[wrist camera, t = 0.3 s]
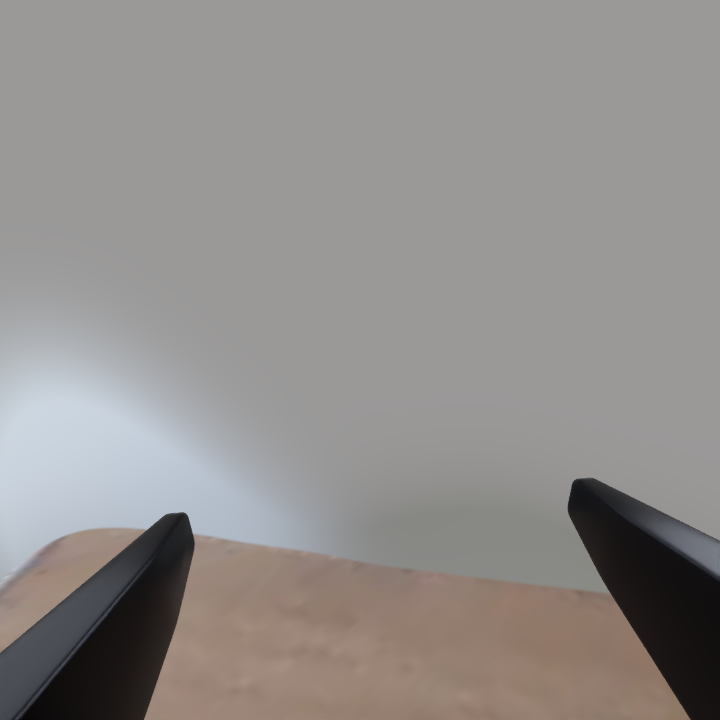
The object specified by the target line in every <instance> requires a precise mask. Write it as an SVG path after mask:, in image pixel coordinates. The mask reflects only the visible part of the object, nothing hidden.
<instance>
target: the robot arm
mask: <svg viewBox="0 0 720 720" xmlns="http://www.w3.org/2000/svg"><path fill="white" fill-rule="evenodd" d="M568 513H569V516H570V518H571V520H572V522H573V524H574V526H575V528H576V530H577V532H578V534H579V536H580V538H581V540H582V542H583V544H584V546H585V548H586V549H587V551H588V553H589V555H590V557H591V559H592V561H593V563H594V565H595V567H596V569H597V571H598V573H599V574H600V576H601V578H602V580H603V582H604V583H605V585H606V586H607V588H608V590H609V591H610V593H611V595H612V596H613V598H614V599H615V601H616V603H617V604H618V606H619V607H620V609H621V610H622V612H623V614H624V615H625V617H626V618H627V620H628V622H629V623H630V625H631V626H632V628H633V629H634V631H635V633H636V634H637V636H638V637H639V639H640V640H641V642H642V644H643V645H644V647H645V648H646V650H647V652H648V653H649V655H650V656H651V658H652V659H653V661H654V663H655V664H656V666H657V667H658V669H659V670H660V672H661V674H662V675H663V677H664V678H665V680H666V682H667V683H668V685H669V686H670V688H671V689H672V691H673V693H674V694H675V696H676V697H677V699H678V701H679V702H680V704H681V705H682V707H683V708H684V710H685V712H686V713H687V715H688V716H689V718H690V719H691V720H720V541H719V540H717V539H715V538H713V537H711V536H709V535H707V534H705V533H703V532H701V531H699V530H697V529H695V528H693V527H691V526H689V525H687V524H685V523H683V522H680V521H679V520H677V519H675V518H673V517H671V516H669V515H667V514H664V513H662V512H661V511H658V510H657V509H655V508H653V507H651V506H649V505H646V504H645V503H642V502H640V501H638V500H636V499H634V498H632V497H630V496H628V495H626V494H624V493H622V492H620V491H618V490H616V489H614V488H612V487H610V486H608V485H606V484H604V483H602V482H600V481H598V480H596V479H594V478H581V479H576V480H574V482H573V483H572V487H571V492H570V497H569V502H568ZM194 544H195V543H194V537H193V533H192V529H191V525H190V522H189V518H188V516H187V514H186V513H183V512H181V513H170V514H166V515H165V516H163V517H162V518H161V519H160V520H159V521H157V522H156V523H155V524H154V525H153V526H151V527H150V528H149V529H148V530H147V531H145V532H144V533H143V534H142V535H141V536H139V537H138V538H137V539H136V540H135V541H133V542H132V543H131V544H130V545H129V546H127V547H126V548H125V549H124V550H123V551H121V552H120V553H119V554H118V555H117V556H116V557H114V558H113V559H112V560H111V561H110V562H108V563H107V564H106V565H105V566H104V567H102V568H101V569H100V570H99V571H98V572H96V573H95V574H94V575H93V576H92V577H90V578H89V579H88V580H87V581H86V582H85V583H83V584H82V585H81V586H80V587H79V588H77V589H76V590H75V591H74V592H73V593H71V594H70V595H69V596H68V597H67V598H65V599H64V600H63V601H62V602H61V603H59V604H58V605H57V606H56V607H55V608H54V609H52V610H51V611H50V612H49V613H48V614H46V615H45V616H44V617H43V618H42V619H40V620H39V621H38V622H37V623H36V624H34V625H33V626H32V627H31V628H30V629H28V630H27V631H26V632H25V633H24V634H23V635H21V636H20V637H19V638H18V639H17V640H15V641H14V642H13V643H12V644H11V645H9V646H8V647H7V648H6V649H5V650H3V651H2V652H1V653H0V720H144V718H145V715H146V712H147V709H148V706H149V703H150V701H151V698H152V695H153V692H154V689H155V686H156V683H157V680H158V677H159V674H160V671H161V668H162V665H163V662H164V660H165V657H166V654H167V651H168V648H169V645H170V642H171V639H172V636H173V633H174V630H175V627H176V624H177V620H178V616H179V612H180V608H181V604H182V599H183V595H184V591H185V587H186V582H187V578H188V574H189V570H190V565H191V561H192V557H193V552H194Z"/></svg>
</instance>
